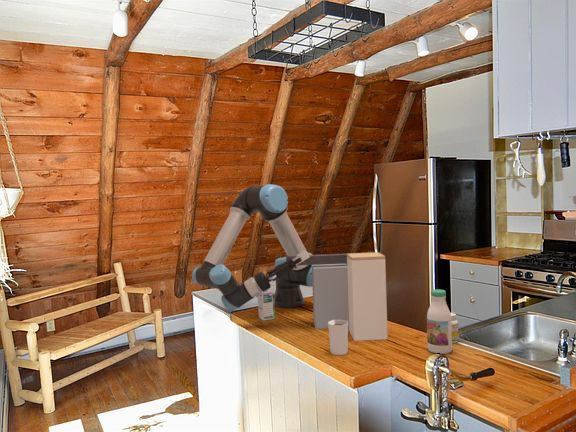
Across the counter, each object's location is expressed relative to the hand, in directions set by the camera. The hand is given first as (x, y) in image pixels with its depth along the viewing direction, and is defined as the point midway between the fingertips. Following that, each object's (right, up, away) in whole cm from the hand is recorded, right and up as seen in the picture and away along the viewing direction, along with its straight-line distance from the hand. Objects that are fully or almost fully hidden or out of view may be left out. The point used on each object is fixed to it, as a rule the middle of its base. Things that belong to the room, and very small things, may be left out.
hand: (307, 253), depth 181 cm
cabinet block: (+22, -29, -13) cm, 39 cm away
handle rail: (+4, -4, 0) cm, 6 cm away
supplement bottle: (+49, -29, -23) cm, 61 cm away
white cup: (+9, -31, -29) cm, 43 cm away
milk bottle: (+42, -30, -31) cm, 61 cm away
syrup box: (-17, -30, +15) cm, 37 cm away
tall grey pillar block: (+10, -29, +2) cm, 31 cm away
